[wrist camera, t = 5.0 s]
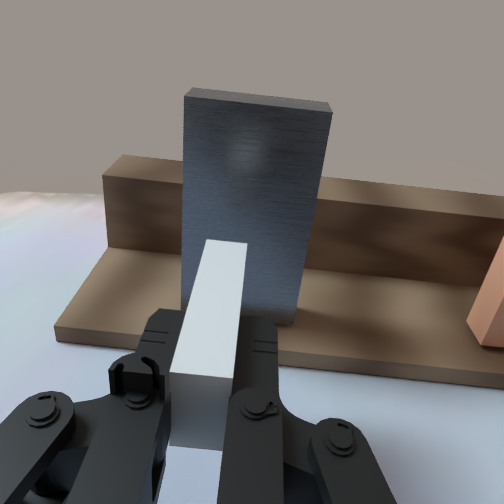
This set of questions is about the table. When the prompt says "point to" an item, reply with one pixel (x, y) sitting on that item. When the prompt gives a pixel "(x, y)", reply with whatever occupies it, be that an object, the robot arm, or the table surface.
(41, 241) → the table surface
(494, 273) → the terracotta key
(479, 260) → the brown piece
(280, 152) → the grey rectangular slab
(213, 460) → the table surface
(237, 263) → the robot arm
